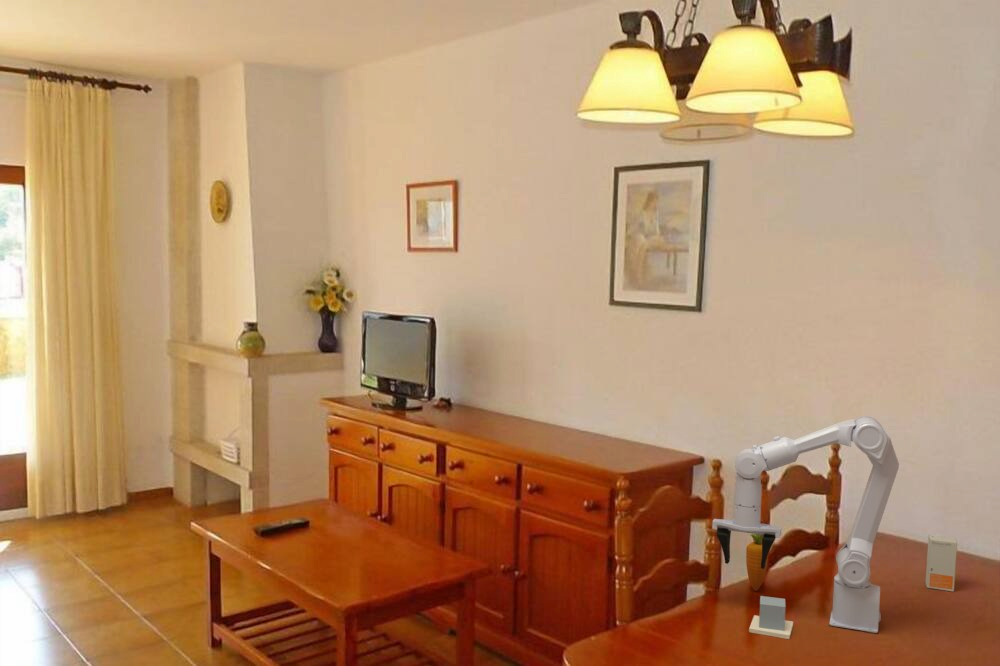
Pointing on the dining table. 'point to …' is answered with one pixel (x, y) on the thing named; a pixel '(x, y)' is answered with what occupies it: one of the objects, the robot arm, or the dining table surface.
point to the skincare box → (941, 563)
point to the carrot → (755, 562)
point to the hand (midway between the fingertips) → (745, 564)
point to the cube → (772, 613)
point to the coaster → (770, 632)
